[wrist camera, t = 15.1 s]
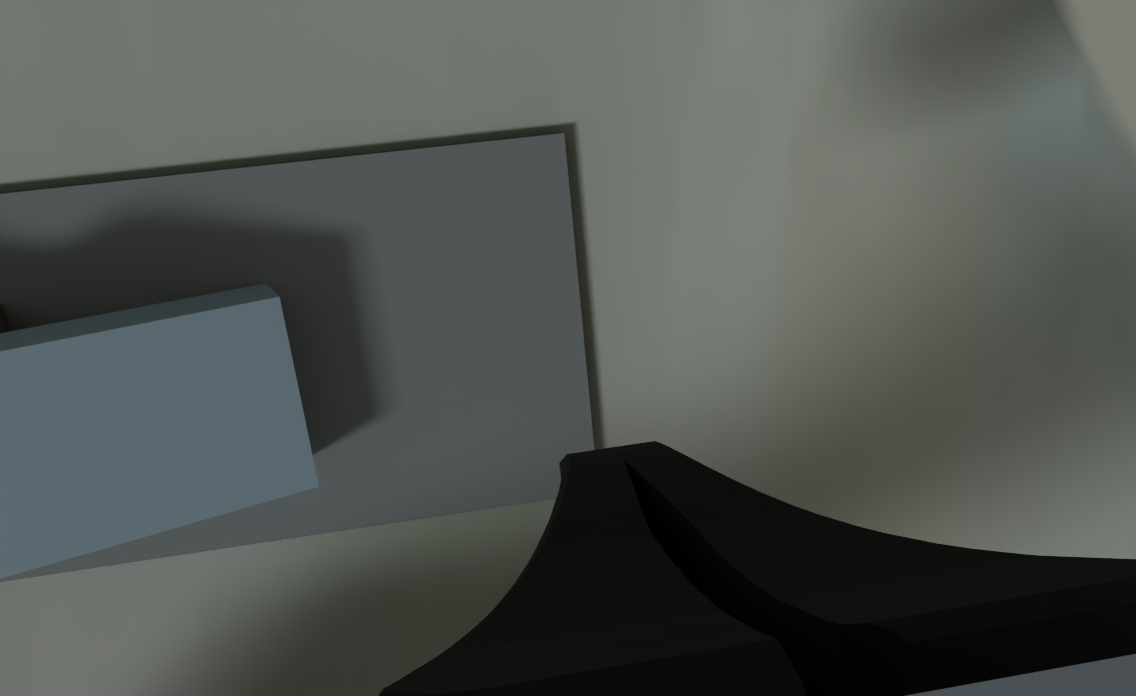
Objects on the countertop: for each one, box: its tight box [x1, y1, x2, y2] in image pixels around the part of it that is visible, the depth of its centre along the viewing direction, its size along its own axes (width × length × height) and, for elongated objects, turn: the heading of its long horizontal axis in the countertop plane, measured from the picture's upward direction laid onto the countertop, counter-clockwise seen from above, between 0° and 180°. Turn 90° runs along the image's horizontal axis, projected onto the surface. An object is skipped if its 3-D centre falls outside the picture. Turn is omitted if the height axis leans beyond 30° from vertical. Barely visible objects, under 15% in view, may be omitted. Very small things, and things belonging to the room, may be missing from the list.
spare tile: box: [0, 283, 319, 579], centre depth 18 cm, size 2×4×7 cm
